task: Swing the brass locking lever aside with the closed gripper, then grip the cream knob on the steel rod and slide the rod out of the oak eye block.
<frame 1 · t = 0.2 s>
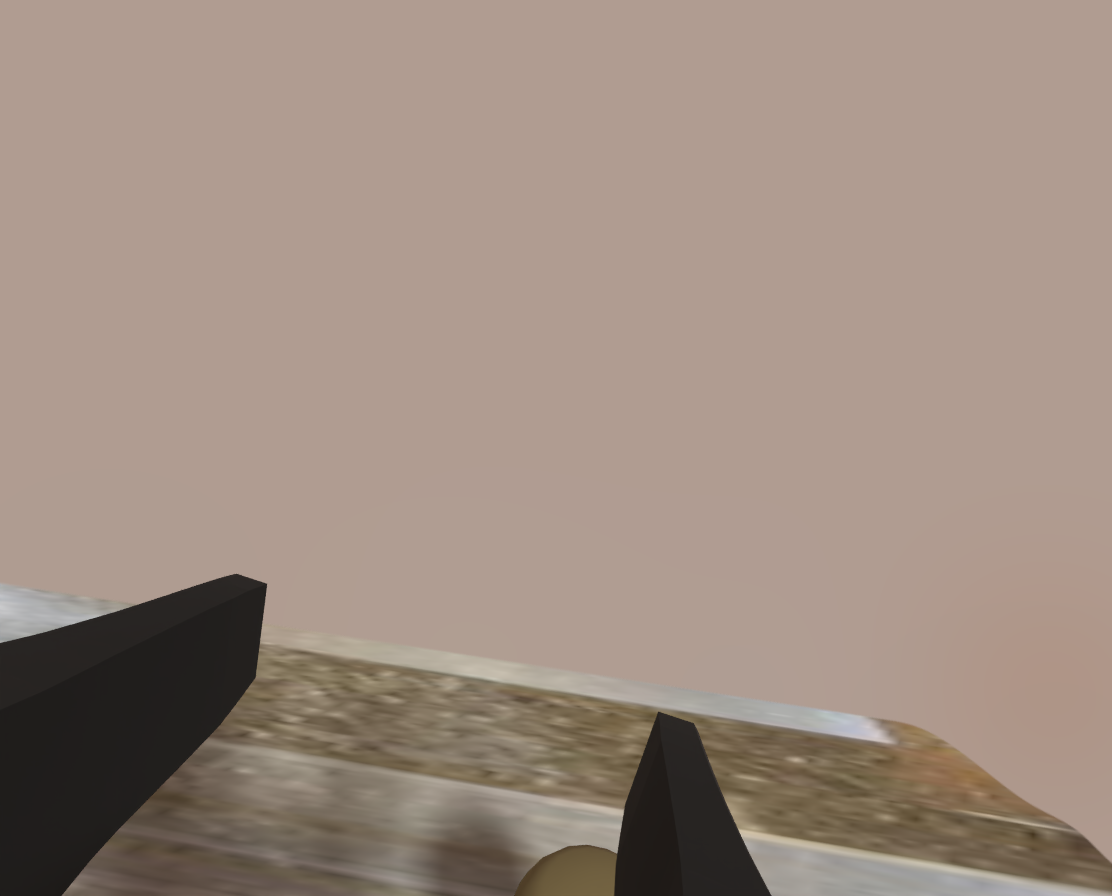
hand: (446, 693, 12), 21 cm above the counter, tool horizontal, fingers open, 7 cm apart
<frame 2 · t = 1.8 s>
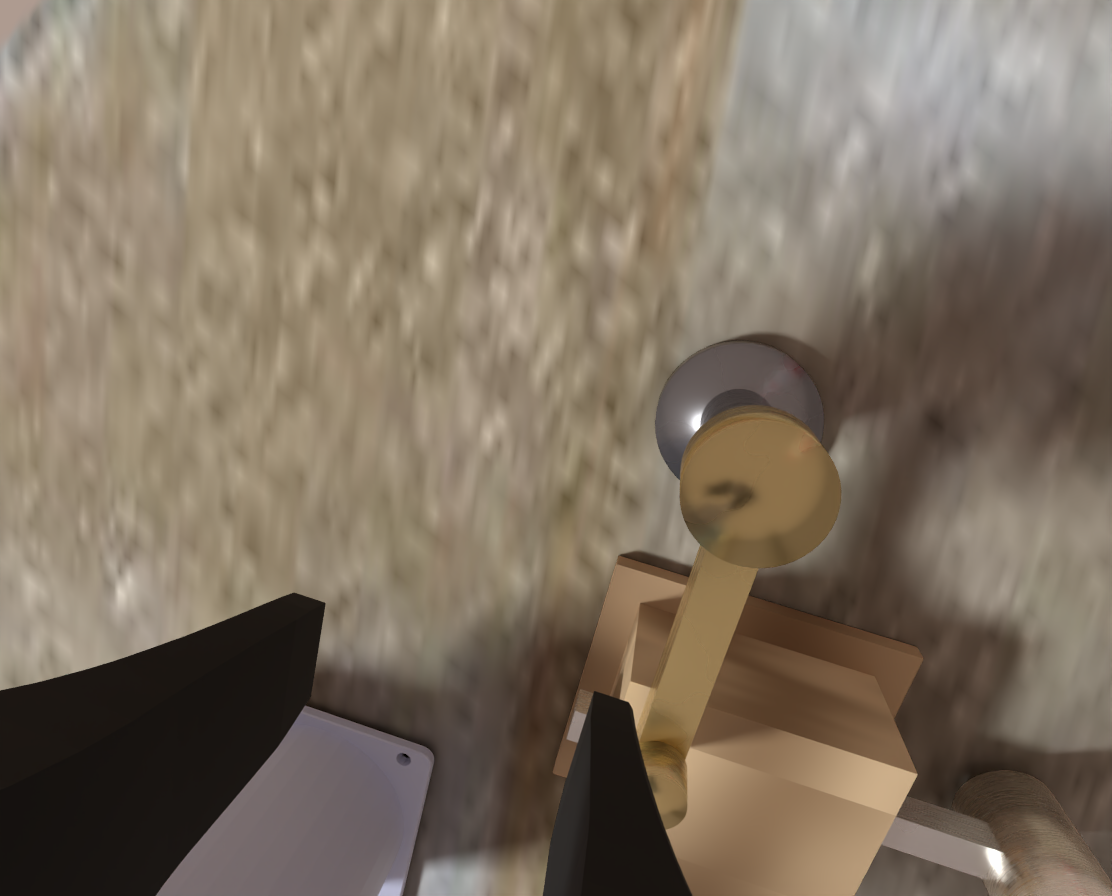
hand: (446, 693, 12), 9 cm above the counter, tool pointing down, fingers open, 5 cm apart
eye block: (722, 708, 22), on the counter
lever: (708, 623, 15), point 6 cm above the counter, hinge at 0.0°
lever post: (736, 420, 19), on the counter
hook rod: (825, 810, 19), point 3 cm above the counter, slide at 0.0 cm
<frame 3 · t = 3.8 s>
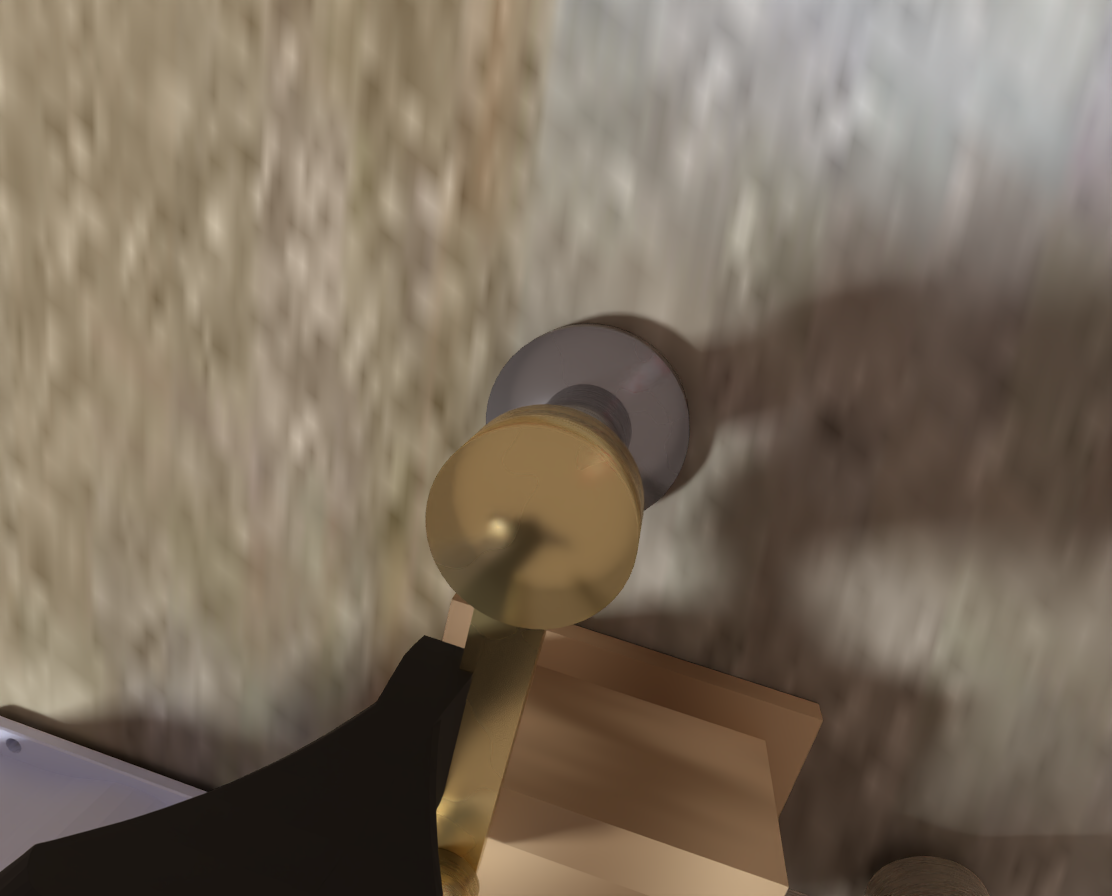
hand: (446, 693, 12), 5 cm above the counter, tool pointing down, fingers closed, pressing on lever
eye block: (591, 771, 18), on the counter
lever: (487, 699, 11), point 6 cm above the counter, hinge at 0.1°, touching gripper
lever post: (588, 423, 15), on the counter
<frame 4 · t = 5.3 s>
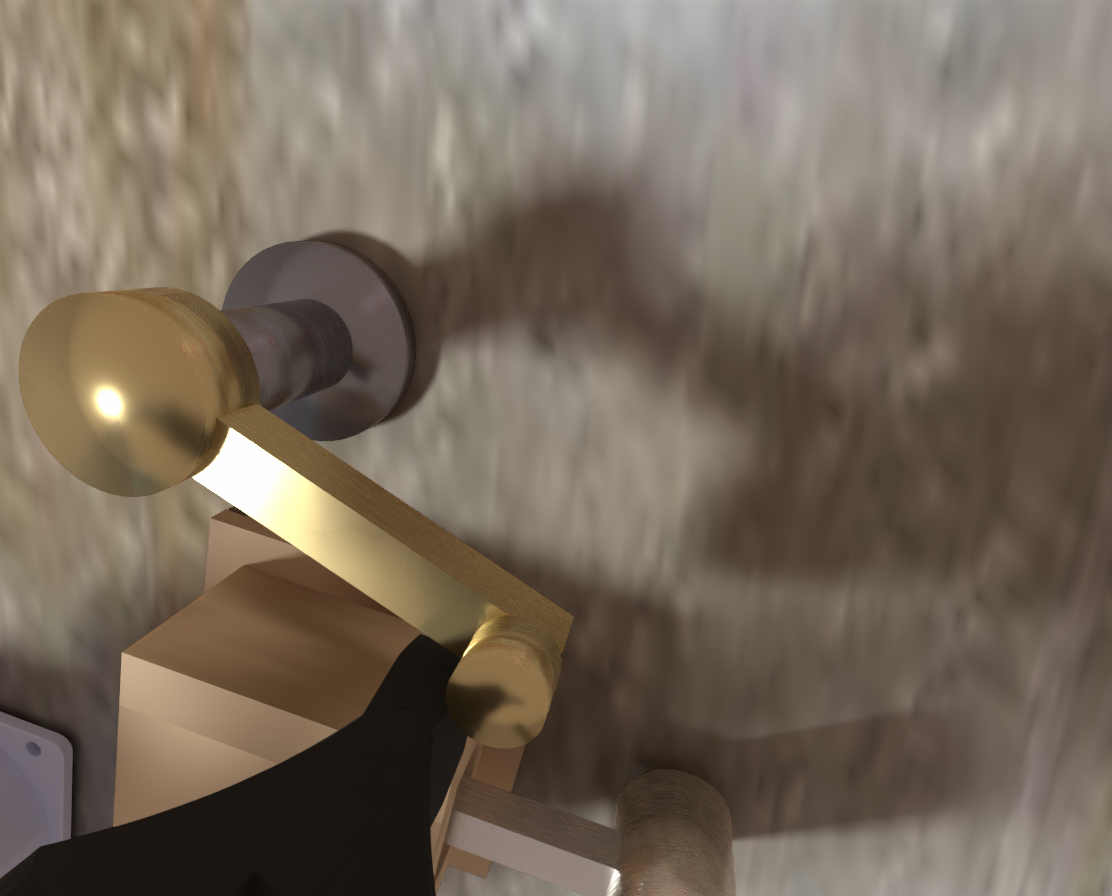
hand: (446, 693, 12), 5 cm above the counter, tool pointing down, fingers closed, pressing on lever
eye block: (364, 692, 18), on the counter
lever: (297, 511, 10), point 6 cm above the counter, hinge at 71.9°, touching gripper
lever post: (324, 341, 16), on the counter
hook rod: (416, 814, 15), point 3 cm above the counter, slide at 0.0 cm
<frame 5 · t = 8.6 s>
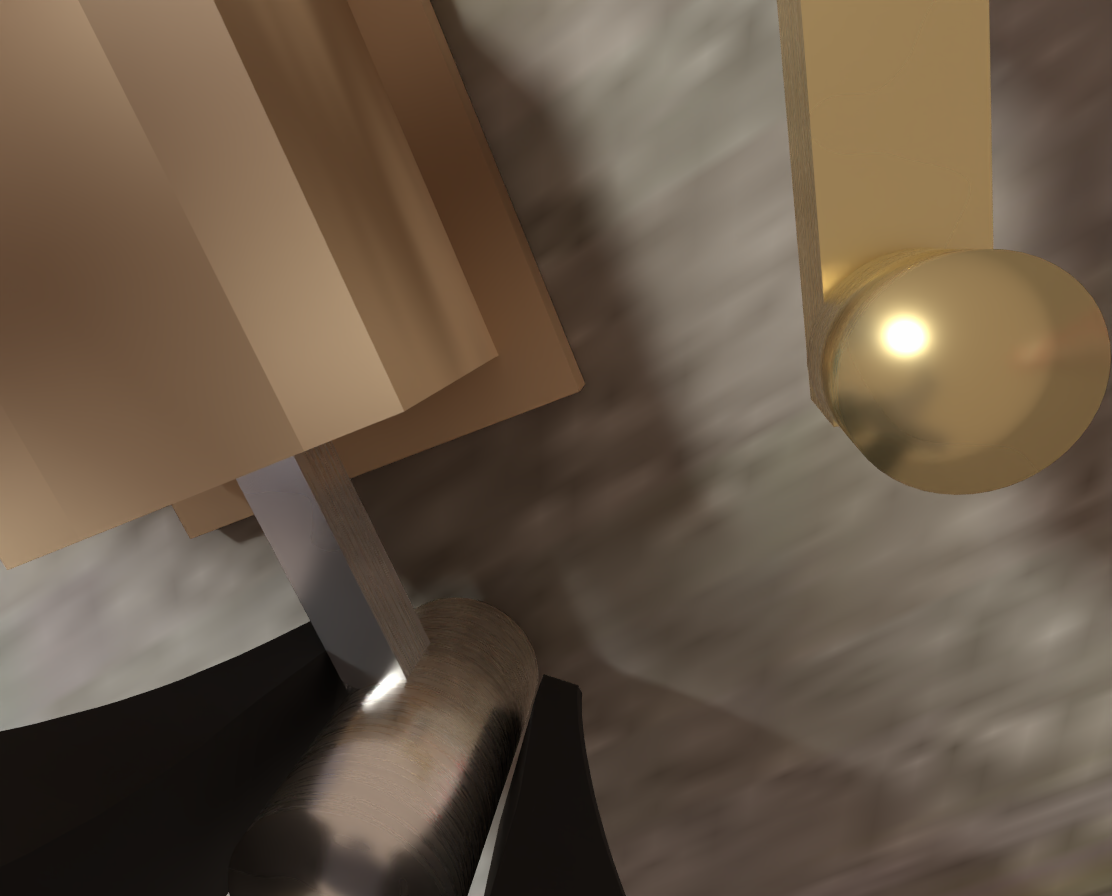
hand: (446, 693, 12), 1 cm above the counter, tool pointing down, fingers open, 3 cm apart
eye block: (267, 221, 12), on the counter
hook rod: (234, 410, 9), point 3 cm above the counter, slide at 0.0 cm, touching gripper
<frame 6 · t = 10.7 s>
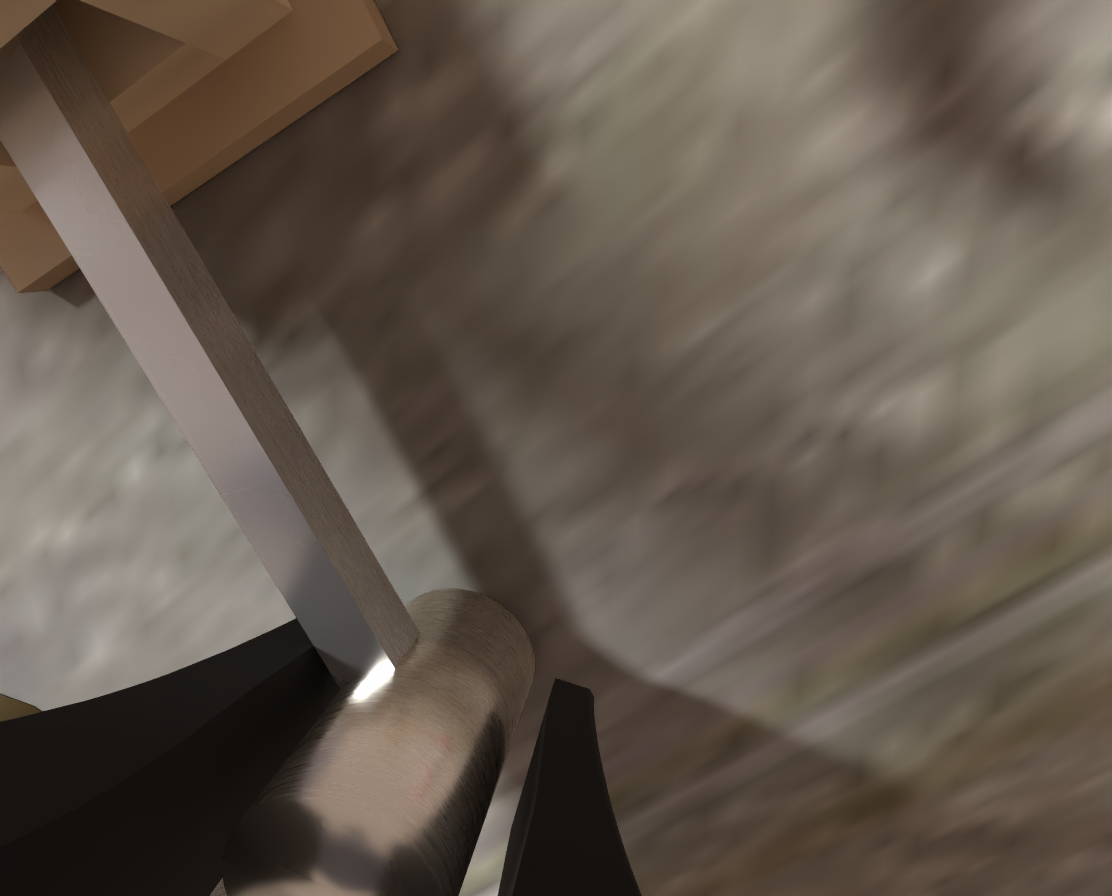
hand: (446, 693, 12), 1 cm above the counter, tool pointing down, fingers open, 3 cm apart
cork: (21, 791, 17), on the counter
hook rod: (203, 410, 9), point 3 cm above the counter, slide at 5.4 cm, touching gripper
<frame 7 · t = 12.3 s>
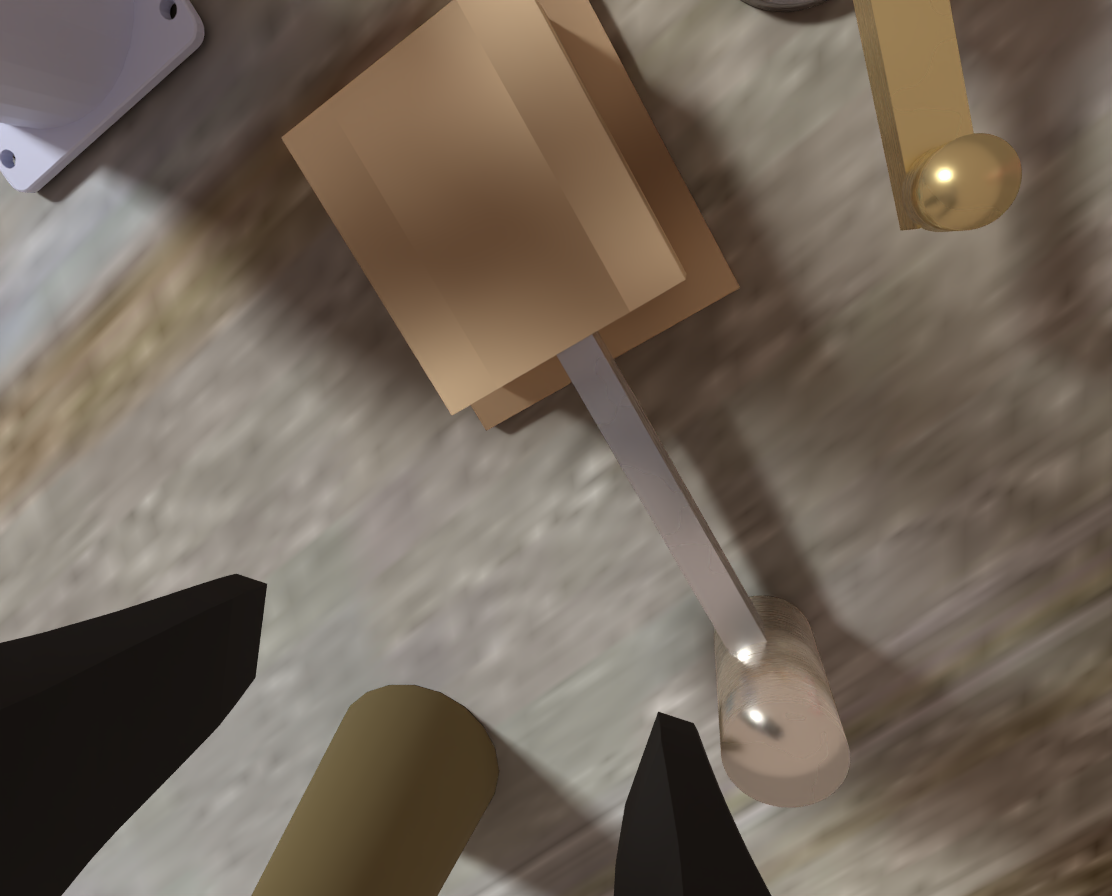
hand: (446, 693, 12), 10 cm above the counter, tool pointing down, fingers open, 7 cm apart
eye block: (526, 216, 19), on the counter
cork: (418, 754, 25), on the counter
hook rod: (664, 502, 17), point 3 cm above the counter, slide at 5.3 cm
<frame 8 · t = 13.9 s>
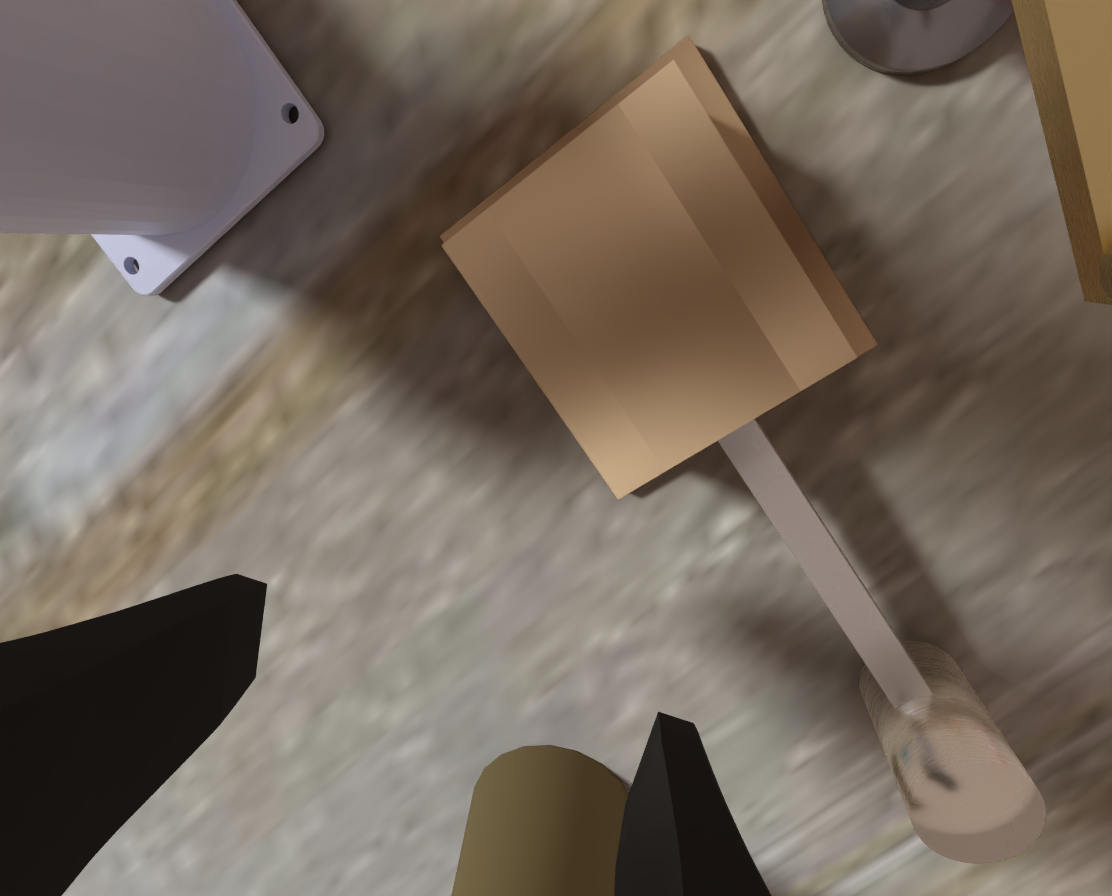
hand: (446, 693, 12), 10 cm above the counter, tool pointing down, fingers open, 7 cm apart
eye block: (652, 287, 19), on the counter
lever: (1093, 33, 11), point 6 cm above the counter, hinge at 77.4°
cork: (554, 811, 25), on the counter
hook rod: (824, 564, 17), point 3 cm above the counter, slide at 5.3 cm
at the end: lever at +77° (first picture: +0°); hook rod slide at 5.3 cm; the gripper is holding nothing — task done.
